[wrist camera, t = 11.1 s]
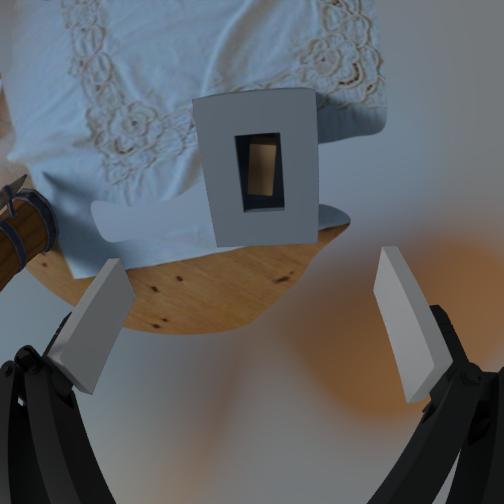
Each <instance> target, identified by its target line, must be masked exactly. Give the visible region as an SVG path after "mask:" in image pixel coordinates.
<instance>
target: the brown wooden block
mask: <svg viewBox="0 0 504 504" xmlns="http://www.w3.org/2000/svg"><path fill="white" fill-rule="evenodd" d="M275 155H276V133H261V134H254V135H253V137H252V140H251V143H250V154H249V175H248V194H257V195H270V196H272V190H273V179H274V167H275Z"/></svg>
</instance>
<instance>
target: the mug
mask: <svg viewBox="0 0 504 504" xmlns="http://www.w3.org/2000/svg"><path fill="white" fill-rule="evenodd" d="M26 177H27V175H26V174H25V175H24V176H22V177H21V178H19V179H18V180H16V181H14V182H13V183H11V184H10V185H5V186H4V187H3V188H2V189H1V191H0V210H1V209H2V208H3V207H4V206H5V205H6V204H7V209H6V210H5V211H4V212H3V213H2V214H1V215H0V292H1V291H2V290H3V288H4V287H5V286H6V285H7V283H8V282H9V281H10V280H11V279H12V278H13V276H14V275H15V274H17V273H19V272H20V271H21V270H22V269H23V268H24V267H25V266H26V264H27V263H28V262H29V261H30V260H31V259H33V258H34V257H35V256H36V255H37V254H38V253H42V252H43V251H44V252H48V251H49V250H50V248H52V247H54V246H55V245H56V242H57V239H58V235H59V229H58V224H57V219H56V215H55V214H54V212H53V210H52V208H51V207H50V205H49V203H48V201H47V200H46V199H45V198H44V197H43V196H42V195H40V194H39V193H38V192H37V191H36V190H35V189H25V188H23V189H22V190H21V191H20V192H18V190H19V189H20V188H21V186H22V185H23V183H24V181H25V179H26ZM17 192H18V193H17ZM12 199H13V201H12Z"/></svg>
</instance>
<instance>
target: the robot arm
mask: <svg viewBox="0 0 504 504" xmlns="http://www.w3.org/2000/svg"><path fill="white" fill-rule="evenodd" d="M373 291H374V294H375V297H376V300H377V302H378V305H379V308H380V311H381V314H382V317H383V320H384V323H385V326H386V329H387V332H388V336H389V339H390V342H391V345H392V348H393V352H394V355H395V359H396V362H397V366H398V370H399V373H400V377H401V381H402V385H403V388H404V392H405V397H406V401H407V404H408V403H413V402H417V401H421V400H424V398H426V396H427V395H428V394H429V393H430V397H431V401H430V402H429V403H428V405H427V406H426V407H425V408H424V409H423V411H422V412H423V413H424V412H425V413H424V415H423V417H422V419H421V421H420V423H419V425H418V427H417V428H416V430H415V432H414V434H413V436H412V437H411V439H410V441H409V443H408V444H407V446H406V448H405V449H404V451H403V453H402V454H401V456H400V458H399V459H398V461H397V462H396V464H395V465H394V467H393V468H392V470H391V471H390V473H389V474H388V476H387V477H386V479H385V480H384V482H383V483H382V485H381V486H380V487H379V488H378V490H377V491H376V492H375V494H374V495H373V496H372V498H371V499H370V500H369V501H368V503H367V504H432V503H433V501H434V499H435V498H436V496H437V494H438V493H439V491H440V489H441V487H442V485H443V484H444V482H445V480H446V478H447V476H448V474H449V472H450V470H451V468H452V466H453V464H454V462H455V460H456V458H457V456H458V454H459V451H460V449H461V451H460V455H459V459H458V463H457V468H456V471H455V475H454V478H453V482H452V485H451V489H450V492H449V495H448V498H447V501H446V503H445V504H504V367H502V368H501V370H500V371H499V372H498V373H496V372H483V371H481V369H480V368H479V366H477V365H476V364H474V363H471V362H469V360H468V359H467V356H466V354H465V352H464V349H463V347H462V345H461V343H460V340H459V338H458V336H457V334H456V332H455V330H454V328H453V325H452V324H451V321H450V319H449V317H448V315H447V313H446V312H445V311H444V310H443V309H442V308H441V307H440V306H439V305H432V306H429V305H428V303H427V301H426V299H425V297H424V296H423V293H422V292H421V290H420V288H419V286H418V284H417V282H416V280H415V278H414V276H413V274H412V273H411V271H410V269H409V267H408V265H407V264H406V262H405V260H404V258H403V257H402V255H401V253H400V252H399V250H398V248H397V246H391V247H390V246H389V247H382V251H381V256H380V262H379V266H378V272H377V276H376V281H375V286H374V290H373ZM135 299H136V295H135V292H134V290H133V288H132V286H131V284H130V281H129V279H128V277H127V274H126V272H125V270H124V267H123V265H122V262H121V260H120V258H115V259H108V260H107V262H106V263H105V264H104V266H103V267H102V269H101V270H100V271H99V273H98V274H97V276H96V277H95V279H94V280H93V282H92V283H91V284H90V286H89V287H88V289H87V290H86V292H85V293H84V295H83V296H82V298H81V300H80V301H79V303H78V304H77V306H76V307H75V309H74V310H73V312H70V313H69V314H68V315H67V316H66V317H65V318H64V319H63V321H62V323H61V324H60V326H59V328H58V329H57V331H56V333H55V335H54V336H53V338H52V339H51V341H50V343H49V345H48V346H47V348H46V350H45V352H44V353H43V355H42V357H41V356H40V355H39V354H38V353H37V351H36V350H35V349H34V348H33V347H32V346H31V345H26V346H24V347H22V348H21V349H19V351H18V352H17V353H16V355H15V358H14V362H13V361H7V362H5V363H4V364H3V365H2V367H1V368H0V504H116V502H115V500H114V498H113V497H112V494H111V492H110V490H109V489H108V486H107V484H106V482H105V479H104V477H103V475H102V473H101V470H100V468H99V465H98V463H97V461H96V458H95V456H94V453H93V450H92V448H91V445H90V442H89V439H88V437H87V433H86V430H85V427H84V424H83V421H82V418H81V415H80V411H79V408H78V404H77V400H76V397H75V394H74V391H73V390H72V387H73V385H74V386H75V387H76V388H77V389H78V390H79V391H81V392H84V393H87V394H91V395H92V394H93V391H94V389H95V386H96V384H97V381H98V379H99V377H100V374H101V372H102V370H103V367H104V365H105V363H106V360H107V358H108V356H109V354H110V351H111V349H112V347H113V345H114V342H115V340H116V338H117V336H118V334H119V332H120V330H121V328H122V325H123V323H124V321H125V319H126V317H127V315H128V313H129V311H130V309H131V307H132V305H133V303H134V301H135ZM15 363H16V364H17V365H18V366H17V365H16V364H15ZM18 397H19V398H20V399H21V400H22V401H23V406H21V405H20V404H19V403H18Z"/></svg>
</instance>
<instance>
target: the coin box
mask: <svg viewBox="0 0 504 504" xmlns="http://www.w3.org/2000/svg"><path fill="white" fill-rule="evenodd" d="M192 104H193V110H194V117H195V123H196V130H197V136H198V143H199V149H200V155H201V161H202V167H203V173H204V178H205V184H206V190H207V195H208V201H209V206H210V212H211V217H212V223H213V228H214V233H215V238H216V243H217V247H236V246H258V245H281V244H304V243H318V213H319V172H318V171H319V169H318V131H317V109H316V92H315V89H312V88H303V87H300V88H275V89H260V90H248V91H239V92H230V93H222V94H215V95H210V96H206V97H201V98H197V99H193V100H192ZM261 133H276V155H275V167H274V179H273V190H272V196H270V195H257V194H248V175H249V154H250V143H251V140H252V137H253V135H254V134H261Z"/></svg>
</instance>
